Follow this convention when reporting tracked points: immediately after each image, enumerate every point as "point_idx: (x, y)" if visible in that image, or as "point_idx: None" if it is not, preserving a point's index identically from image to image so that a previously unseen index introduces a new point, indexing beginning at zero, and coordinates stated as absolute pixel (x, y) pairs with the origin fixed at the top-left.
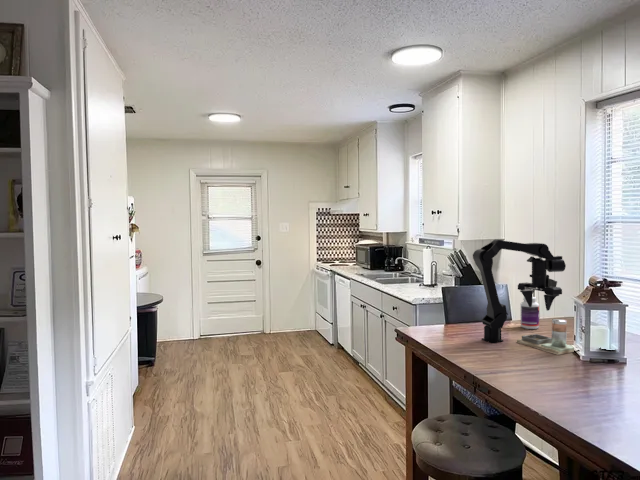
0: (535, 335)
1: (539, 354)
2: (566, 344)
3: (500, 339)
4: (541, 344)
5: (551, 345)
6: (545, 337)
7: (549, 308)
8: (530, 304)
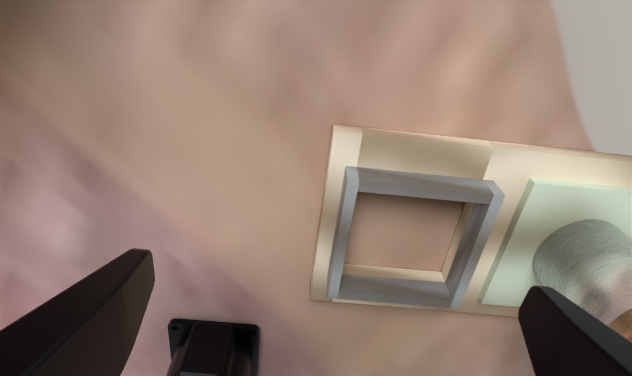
0: (354, 196)
1: (514, 358)
2: (611, 196)
3: (238, 333)
4: (483, 302)
5: (538, 280)
6: (442, 196)
7: (575, 315)
8: (136, 304)
